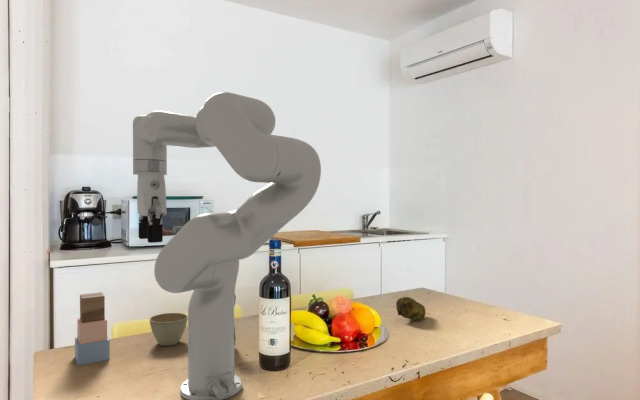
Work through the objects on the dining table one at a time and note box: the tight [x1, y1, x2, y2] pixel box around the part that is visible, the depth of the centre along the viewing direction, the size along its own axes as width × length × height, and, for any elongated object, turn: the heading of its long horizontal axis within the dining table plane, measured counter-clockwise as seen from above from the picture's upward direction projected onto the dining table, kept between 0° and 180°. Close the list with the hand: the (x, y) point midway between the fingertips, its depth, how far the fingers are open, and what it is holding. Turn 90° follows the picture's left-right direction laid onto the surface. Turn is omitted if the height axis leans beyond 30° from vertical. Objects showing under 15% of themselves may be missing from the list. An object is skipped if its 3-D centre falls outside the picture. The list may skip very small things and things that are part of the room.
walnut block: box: [79, 292, 106, 323], centre depth 113 cm, size 5×5×6 cm
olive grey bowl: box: [149, 312, 188, 347], centre depth 124 cm, size 10×10×7 cm
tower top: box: [76, 317, 108, 344], centre depth 112 cm, size 6×6×5 cm
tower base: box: [74, 336, 111, 366], centre depth 113 cm, size 7×7×5 cm
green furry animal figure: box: [395, 296, 426, 322], centre depth 147 cm, size 8×13×8 cm, turn 119°
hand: (150, 240), depth 107 cm, fingers open, 9 cm apart
